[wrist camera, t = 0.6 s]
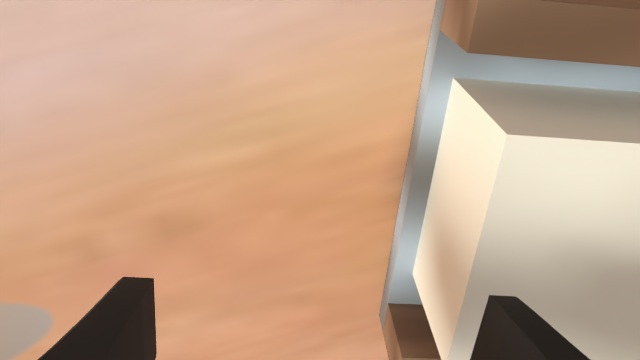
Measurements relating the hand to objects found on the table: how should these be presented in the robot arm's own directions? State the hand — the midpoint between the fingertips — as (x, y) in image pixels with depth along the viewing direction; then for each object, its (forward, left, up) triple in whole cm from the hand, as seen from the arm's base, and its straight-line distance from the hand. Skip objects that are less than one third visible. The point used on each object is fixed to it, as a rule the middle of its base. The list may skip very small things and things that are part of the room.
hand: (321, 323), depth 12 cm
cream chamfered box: (-1, -9, -8) cm, 12 cm away
